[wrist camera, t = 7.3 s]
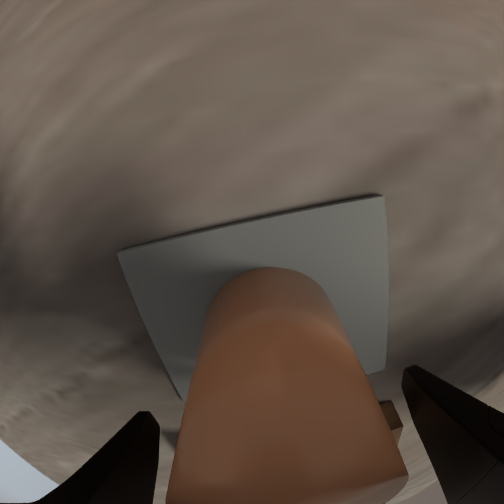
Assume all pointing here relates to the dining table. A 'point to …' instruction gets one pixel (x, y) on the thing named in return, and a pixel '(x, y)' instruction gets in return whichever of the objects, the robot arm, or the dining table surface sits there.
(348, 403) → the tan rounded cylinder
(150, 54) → the dining table surface
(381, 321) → the pad
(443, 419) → the robot arm
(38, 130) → the dining table surface
